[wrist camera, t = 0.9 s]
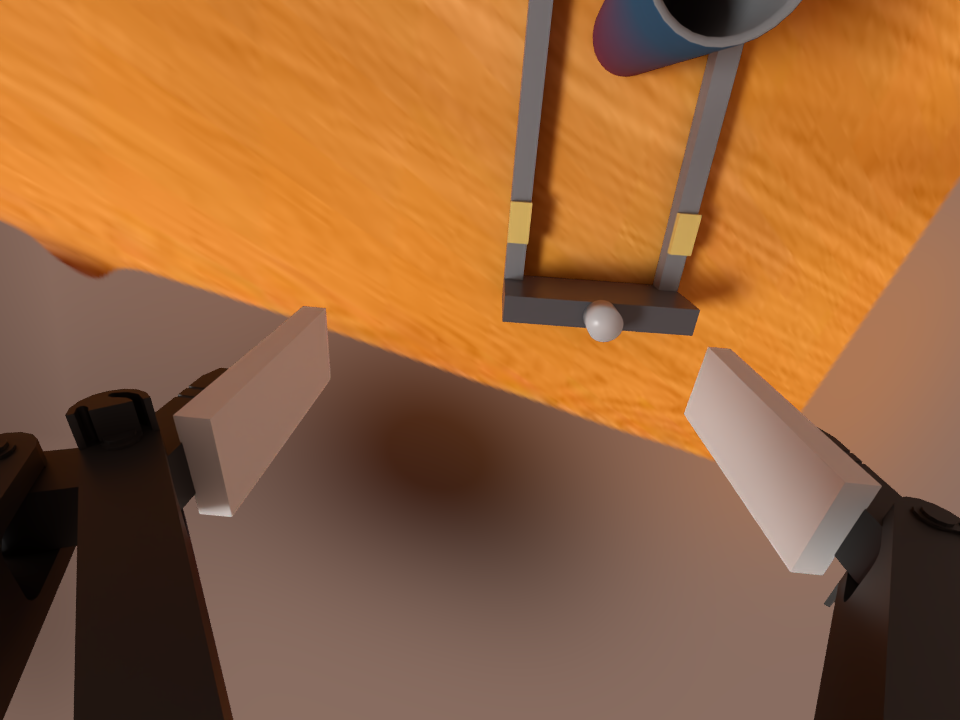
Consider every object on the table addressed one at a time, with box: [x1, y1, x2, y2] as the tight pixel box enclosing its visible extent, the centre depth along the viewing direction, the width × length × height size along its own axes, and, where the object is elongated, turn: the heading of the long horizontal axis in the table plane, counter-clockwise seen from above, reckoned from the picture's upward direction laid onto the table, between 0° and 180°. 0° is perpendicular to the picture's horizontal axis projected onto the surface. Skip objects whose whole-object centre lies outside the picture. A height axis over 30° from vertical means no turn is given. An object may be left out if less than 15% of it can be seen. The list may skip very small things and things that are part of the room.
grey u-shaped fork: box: [502, 0, 744, 342], centre depth 29 cm, size 23×14×8 cm, turn 176°
